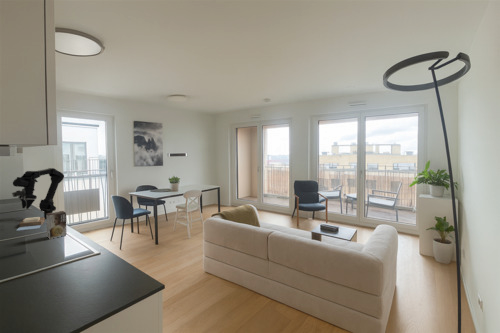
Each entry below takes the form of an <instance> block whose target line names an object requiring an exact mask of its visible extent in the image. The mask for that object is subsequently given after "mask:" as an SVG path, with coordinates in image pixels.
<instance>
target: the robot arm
mask: <svg viewBox="0 0 500 333" xmlns="http://www.w3.org/2000/svg"><path fill="white" fill-rule="evenodd" d="M46 175H48V176H49V177H50V181H51V182H50V185H49V188H48V189H47V192H46V196H45V198H44V199H40V202H39V206H38V207H39V210H40V211H41V212H43V217H45V220H46V213H52V212H56V210H57V207H56V206H55V205H54V204H55V203H54V198H55V194H56V192H57V189H58V186H59V184H60V183H61V182H62V181H63V180H64V178H65V175H64V173H62V172H61V171H59V170H58V169H56V168H53V167H50V168H49V167H48V168H45V169H39V170H26V171H25V172H24V173H23V174H22V175H21V176H17V177H16V178H15V179H14V180H13V181H12V185H13V187H18V188H22V189H21V190H20V189H18V190H15V191H14V192H11V195H12V197H13V198H16V197H17V199H18V201H20V202H21V207H22V209H26V210H29V209H30V207H31V206H32V204H33V203H34V202H35V201H36V200H37V195H35V194H34V191H35V190H36V188H35V186H36V185H35V184H36V183H38V182H39V181H38V180H37V179H38V178H40V177H41V176H46Z"/></svg>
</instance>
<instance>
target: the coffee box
mask: <svg viewBox="0 0 500 333" xmlns="http://www.w3.org/2000/svg"><path fill="white" fill-rule="evenodd" d="M45 222H46V238H47V237H48V238H49V239H48V238H47V239H48V240H53V239H52V238H55V239H57V238H56V237H59V238H61V237H60V236H63V237H66V236H65V235H68V234H67V212H66V211H64V210H60V211H53V212H52V213H46V219H45Z"/></svg>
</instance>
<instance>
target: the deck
mask: <svg viewBox="0 0 500 333" xmlns="http://www.w3.org/2000/svg"><path fill="white" fill-rule="evenodd" d="M45 222H46V219H45V217H44V216H43V217H40V220H39V221H38V222H28V223H24V221H23V220H21V221H20V223H19V224H18V225H19V227H27V226H36V225H41V226H42V225H43V224H44V223H45ZM19 227H18V228H19Z"/></svg>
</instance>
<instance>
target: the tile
mask: <svg viewBox="0 0 500 333" xmlns="http://www.w3.org/2000/svg"><path fill="white" fill-rule="evenodd" d="M40 218H41V217H40V216H35V217H26V218H23V220H22V221H24V223H28V222H38V221H39V220H40Z"/></svg>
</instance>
